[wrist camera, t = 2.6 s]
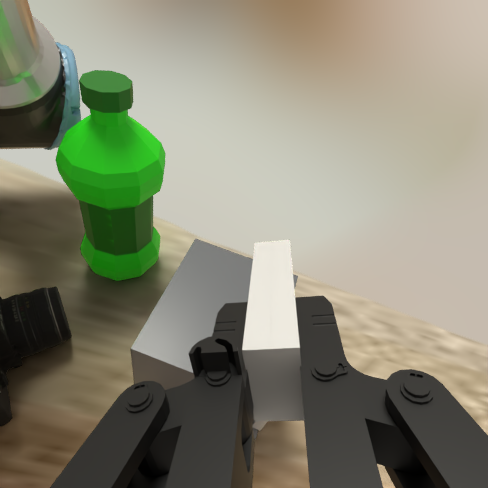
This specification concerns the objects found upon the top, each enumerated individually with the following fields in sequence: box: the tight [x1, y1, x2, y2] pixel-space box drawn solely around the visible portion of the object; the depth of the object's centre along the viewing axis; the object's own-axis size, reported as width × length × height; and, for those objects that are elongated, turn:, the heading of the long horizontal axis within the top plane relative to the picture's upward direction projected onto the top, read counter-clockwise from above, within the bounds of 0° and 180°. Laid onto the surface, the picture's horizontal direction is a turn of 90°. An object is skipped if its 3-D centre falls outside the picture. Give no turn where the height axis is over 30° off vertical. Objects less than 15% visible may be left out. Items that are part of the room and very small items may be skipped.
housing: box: [131, 239, 298, 441], centre depth 38 cm, size 13×16×11 cm
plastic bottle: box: [56, 70, 165, 281], centre depth 39 cm, size 10×10×25 cm
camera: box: [0, 287, 71, 426], centre depth 34 cm, size 14×11×10 cm
